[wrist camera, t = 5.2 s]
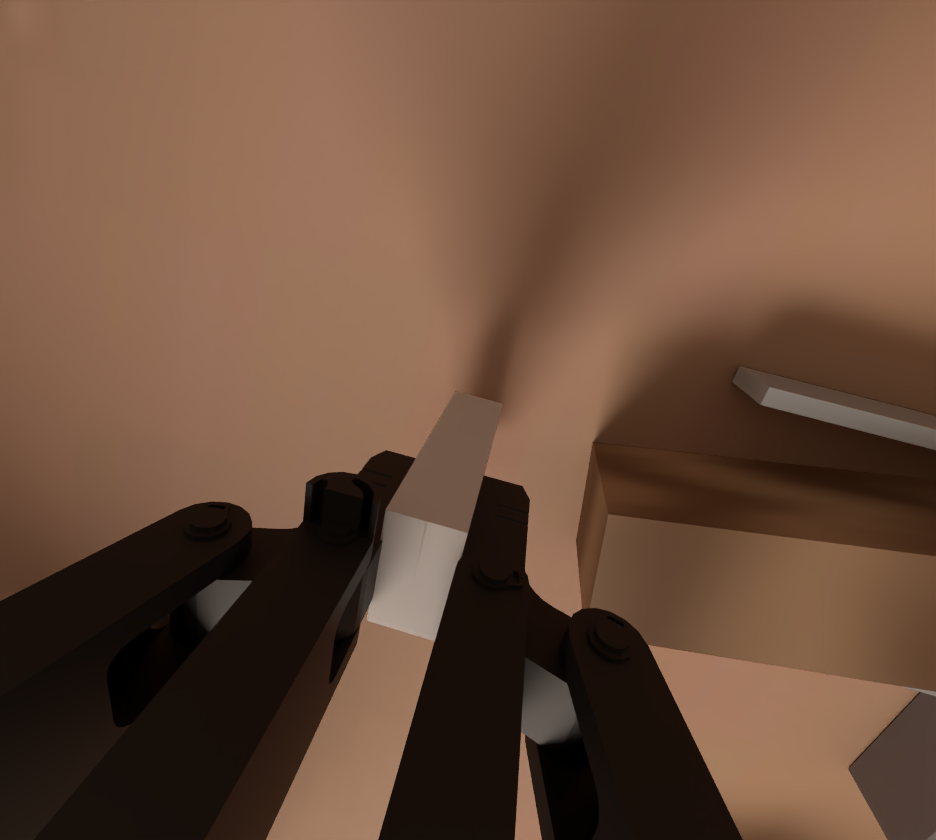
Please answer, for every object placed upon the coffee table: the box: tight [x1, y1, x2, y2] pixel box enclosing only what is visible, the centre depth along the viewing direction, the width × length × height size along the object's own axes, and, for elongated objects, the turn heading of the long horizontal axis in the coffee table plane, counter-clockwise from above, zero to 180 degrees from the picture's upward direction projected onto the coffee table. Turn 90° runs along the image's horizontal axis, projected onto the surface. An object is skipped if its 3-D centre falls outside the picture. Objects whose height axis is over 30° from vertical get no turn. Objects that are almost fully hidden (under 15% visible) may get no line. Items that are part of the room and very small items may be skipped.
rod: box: [576, 442, 936, 692], centre depth 13 cm, size 17×4×4 cm, turn 88°
